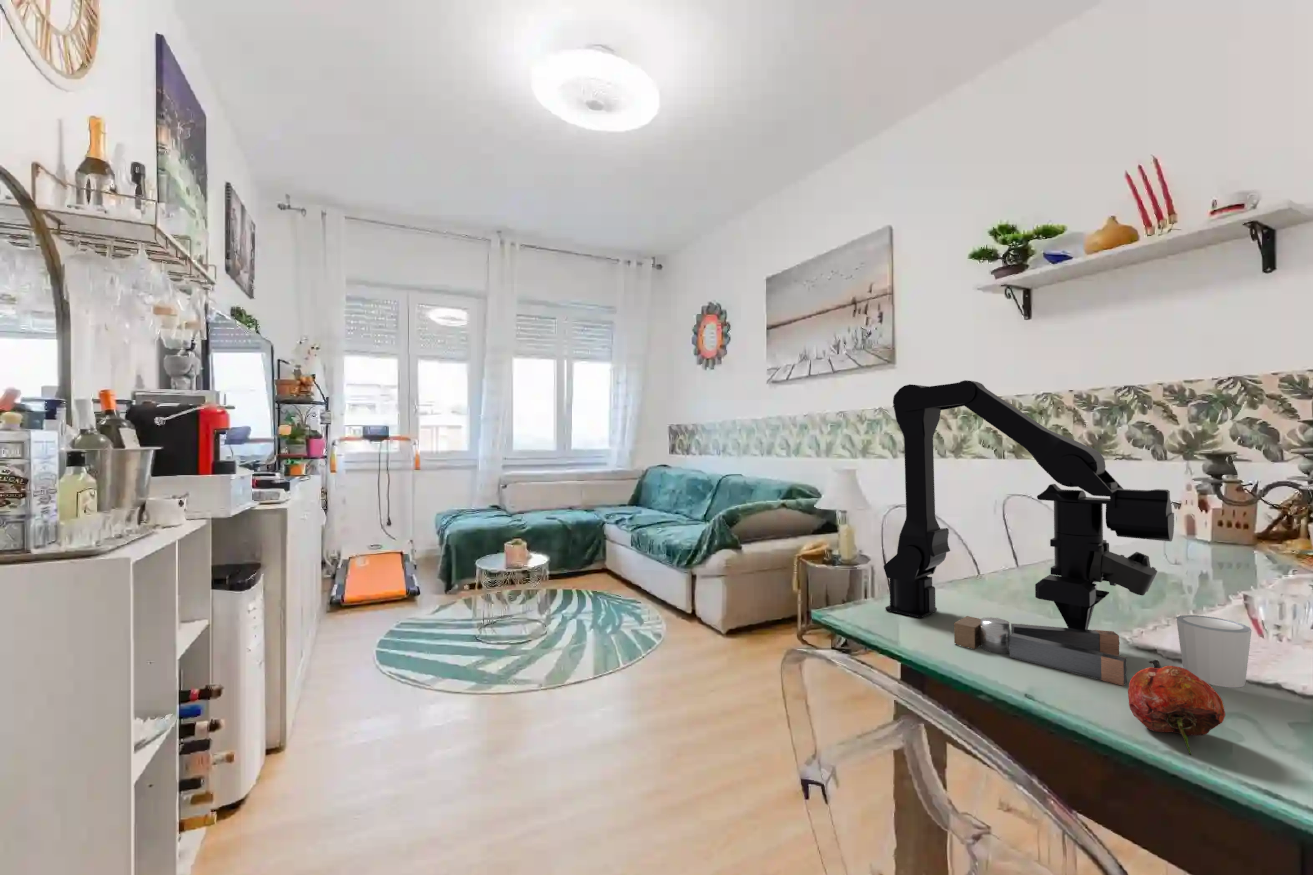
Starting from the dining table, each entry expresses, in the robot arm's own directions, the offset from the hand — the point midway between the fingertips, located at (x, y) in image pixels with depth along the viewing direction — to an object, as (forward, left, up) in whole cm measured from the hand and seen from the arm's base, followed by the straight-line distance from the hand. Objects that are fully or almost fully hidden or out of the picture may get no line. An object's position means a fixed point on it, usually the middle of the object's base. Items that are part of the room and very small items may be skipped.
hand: (1079, 640), depth 83 cm
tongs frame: (-3, -9, -1) cm, 10 cm away
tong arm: (-1, -4, -1) cm, 4 cm away
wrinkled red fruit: (+13, -22, -1) cm, 26 cm away
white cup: (+14, 0, -1) cm, 14 cm away
